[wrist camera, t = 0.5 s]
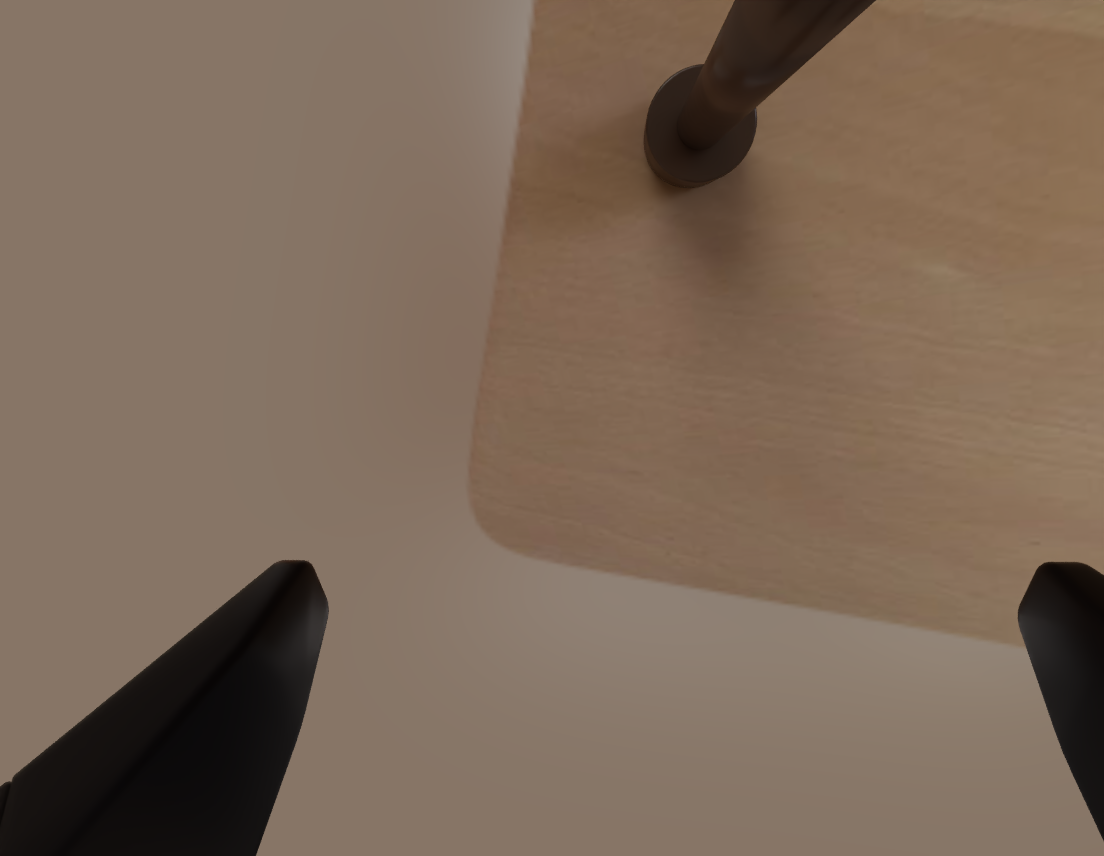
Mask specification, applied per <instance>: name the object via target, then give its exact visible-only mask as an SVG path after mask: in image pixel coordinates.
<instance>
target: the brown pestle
mask: <svg viewBox="0 0 1104 856" xmlns="http://www.w3.org/2000/svg"><path fill="white" fill-rule="evenodd" d="M874 1H876V0H735V1H734V3H733V5H732V7H731V9H730V11H729V13H728V16H727V18H726V20H725V22H724V24H723V26H722V28H721V30H720V32H719V34H718V36H717V38H716V41H715V43H714V45H713V47H712V49H711V51H710V53H709V55H708V57H707V59H706V61H705V63H704V64H699V65H694V66H690V67H687V68H685V69H683V70H681V71H679V72H677V73H675V74H674V75H672V76H671V77H670V78H669V79H668V80H667V81H665V82H664V84H663V85H662V86H661V87H660V88H659V90H658V91H657V93H656V94H655V96H654V98H653V100H652V102H651V105H650V107H649V110H648V114H647V119H646V125H645V131H644V150H645V154H646V157H647V160H648V162H649V164H650V166H651V168H652V169H653V171H654V172H655V173H656V174H657V175H658V176H659V177H660V178H661V179H663V180H664V181H665V182H667V183H669V184H671V185H674V186H677V187H683V188H694V187H699V186H702V185H705V184H708V183H710V182H712V181H714V180H716V179H718V178H720V177H722V176H724V175H726V174H727V173H729V172H730V171H732V170H733V169H734V168H735V167H736V166H737V165H738V164H739V163H740V162H741V161H742V160H743V158H744V157H745V156H746V154H747V153H748V151H749V149H750V147H751V145H752V142H753V140H754V136H755V133H756V127H757V111H756V107H757V106H758V105H759V104H760V103H761V102H763V101H764V100H765V99H766V98H767V97H768V96H769V95H770V94H771V93H773V92H774V91H775V90H776V89H777V88H778V87H779V86H780V85H782V84H783V83H784V82H785V81H786V80H787V79H788V78H789V77H790V76H792V75H793V74H794V73H795V72H796V71H797V70H798V69H799V68H801V67H802V66H803V65H804V64H805V63H806V62H807V61H808V60H810V59H811V58H812V57H813V56H814V55H815V54H816V53H817V52H818V51H820V50H821V49H822V48H823V47H824V46H825V45H826V44H827V43H829V42H830V41H831V40H832V39H833V38H834V37H835V36H836V35H837V34H839V33H840V32H841V31H842V30H843V29H844V28H845V27H846V26H848V25H849V24H850V23H851V22H852V21H853V20H854V19H855V18H857V17H858V16H859V15H860V14H861V13H862V12H863V11H864V10H865V9H867V8H868V7H869V6H870V5H871V4H872V3H873V2H874Z"/></svg>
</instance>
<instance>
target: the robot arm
mask: <svg viewBox="0 0 1104 856" xmlns="http://www.w3.org/2000/svg"><path fill="white" fill-rule="evenodd" d="M328 612H329V608H328V601H327V598H326V595H325V593H324V591H323V588H322V586H321V584H320V581H319V579H318V577H317V574H316V572H315V569H314V568H313V566H312V564H311V563H309V562H308V561H305V560H282V561H279V562H276V563H274V564H273V565H272V566H270V567H269V568H268V569H267V570H266V571H264V572H263V573H262V574H261V575H259V576H258V577H257V578H256V579H254V580H253V581H252V582H251V583H250V584H248V585H247V586H246V587H245V588H243V589H242V590H241V591H240V592H239V593H237V594H236V595H235V596H234V597H232V598H231V599H230V600H229V601H228V602H226V603H225V604H224V605H223V606H221V607H220V608H219V609H218V610H216V611H215V612H214V613H213V614H212V615H210V616H209V617H208V618H207V619H205V620H204V621H203V622H202V623H200V624H199V625H198V626H197V627H196V628H194V629H193V630H192V631H191V632H189V633H188V634H187V635H186V636H185V637H183V638H182V639H181V640H180V641H178V642H177V643H176V644H175V645H174V646H172V647H171V648H170V649H169V650H167V651H166V652H165V653H164V654H162V655H161V656H160V657H159V658H158V659H156V660H155V661H154V662H153V663H151V664H150V665H149V666H148V667H146V668H145V669H144V670H143V671H142V672H140V673H139V674H138V675H137V676H136V677H134V678H133V679H132V680H131V681H129V682H128V683H127V684H126V685H124V686H123V687H122V688H121V689H120V690H118V691H117V692H116V693H115V694H113V695H112V696H111V697H110V698H108V699H107V700H106V701H105V702H104V703H102V704H101V705H100V706H99V707H97V708H96V709H95V710H94V711H93V712H91V713H90V714H89V715H88V716H86V717H85V718H84V719H83V720H82V721H80V722H79V723H78V724H77V725H75V726H74V727H73V728H72V729H71V730H69V731H68V732H67V733H66V734H65V735H63V736H62V737H61V738H59V739H58V740H57V741H56V742H55V743H53V744H52V745H51V746H50V747H48V748H47V749H46V750H45V751H44V752H42V753H41V754H40V755H39V756H37V757H36V758H35V759H34V760H32V761H31V762H30V763H29V764H28V765H26V766H25V767H24V768H23V769H21V770H20V771H19V772H18V773H16V774H15V775H14V777H13V779H12V782H10V781H9V782H6V783H4V784H3V785H2V786H0V856H256V854H257V851H258V848H259V845H260V843H261V840H262V837H263V834H264V831H265V828H266V826H267V823H268V820H269V817H270V814H271V812H272V809H273V806H274V803H275V800H276V798H277V795H278V792H279V789H280V786H281V783H282V781H283V778H284V775H285V772H286V769H287V767H288V764H289V761H290V758H291V755H292V752H293V750H294V747H295V744H296V741H297V738H298V735H299V732H300V729H301V726H302V722H303V718H304V714H305V711H306V707H307V702H308V699H309V694H310V690H311V686H312V682H313V678H314V673H315V669H316V665H317V661H318V657H319V653H320V649H321V645H322V640H323V636H324V631H325V628H326V624H327V619H328ZM1018 623H1019V627H1020V631H1021V634H1022V637H1023V639H1024V642H1025V645H1026V648H1027V651H1028V654H1029V657H1030V660H1031V663H1032V666H1033V669H1034V672H1035V674H1036V677H1037V680H1038V683H1039V686H1040V689H1041V692H1042V695H1043V698H1044V701H1045V703H1046V707H1047V710H1048V712H1049V715H1050V718H1051V721H1052V724H1053V727H1054V730H1055V732H1056V735H1057V738H1058V740H1059V743H1060V746H1061V749H1062V751H1063V754H1064V756H1065V758H1066V760H1067V763H1068V765H1069V767H1070V770H1071V772H1072V774H1073V776H1074V778H1075V780H1076V783H1077V785H1078V787H1079V789H1080V791H1081V793H1082V796H1083V798H1084V800H1085V802H1086V804H1087V806H1088V808H1089V810H1090V813H1091V815H1092V817H1093V819H1094V821H1095V823H1096V825H1097V828H1098V830H1099V832H1100V834H1101V836H1102V838H1103V840H1104V575H1103V574H1101V573H1100V572H1098V571H1097V570H1095V569H1093V568H1092V567H1090V566H1088V565H1086V564H1084V563H1079V562H1046V563H1043V564H1042V565H1041V566H1039V567H1038V568H1037V570H1036V572H1035V574H1034V576H1033V578H1032V580H1031V582H1030V584H1029V587H1028V589H1027V591H1026V593H1025V595H1024V597H1023V599H1022V601H1021V603H1020V606H1019V609H1018Z"/></svg>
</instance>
